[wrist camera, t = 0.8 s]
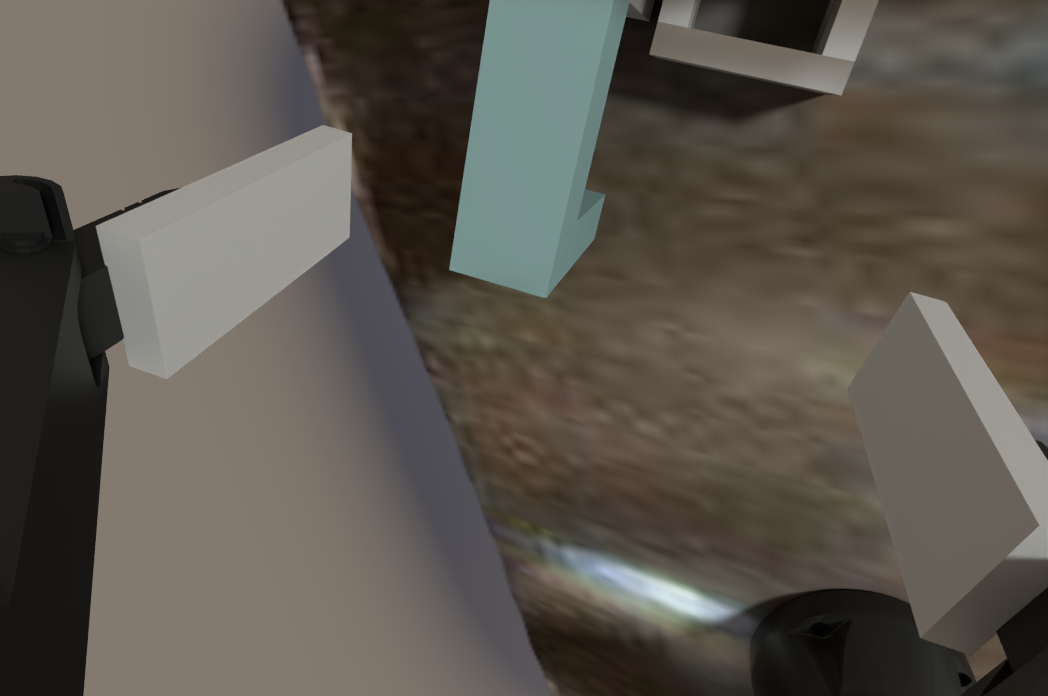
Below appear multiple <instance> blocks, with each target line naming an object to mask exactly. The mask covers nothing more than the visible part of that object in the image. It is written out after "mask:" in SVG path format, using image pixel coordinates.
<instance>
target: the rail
mask: <svg viewBox="0 0 1048 696" xmlns="http://www.w3.org/2000/svg"><path fill="white" fill-rule="evenodd" d="M654 2H655V0H490V2H489V9H488V16H487V22H486V29H485V35H484V42H483V49H482V55H481V62H480V69H479V75H478V82H477V89H476V95H475V102H474V108H473V115H472V122H471V128H470V135H469V142H468V148H467V155H466V162H465V168H464V175H463V181H462V188H461V195H460V201H459V208H458V215H457V221H456V228H455V235H454V241H453V248H452V254H451V261H450V268H449V270H451V271H455V272H458V273H461V274H465V275H468V276H472V277H475V278H478V279H482V280H485V281H489V282H492V283H495V284H499V285H502V286H506V287H509V288H512V289H516V290H519V291H523V292H526V293H529V294H533V295H536V296H540V297H543V298H546V297H547V296H548V295H549V294H550V292H551V291H552V290H553V289H554V288H555V286H556V285H557V284H558V283H559V281H560V280H561V279H562V278H563V277H564V275H565V274H566V273H567V272H568V270H569V269H570V268H571V267H572V266H573V264H574V263H575V262H576V261H577V259H578V258H579V257H580V256H581V255H582V253H583V252H584V251H585V250H586V249H587V247H588V246H589V245H590V244H591V242H592V241H593V240H594V238H595V234H596V230H597V226H598V222H599V218H600V214H601V210H602V206H603V203H604V199H605V195H606V194H602V193H598V192H594V191H590V190H586V189H585V186H586V182H587V178H588V174H589V170H590V165H591V161H592V157H593V153H594V149H595V144H596V140H597V136H598V132H599V128H600V124H601V119H602V115H603V111H604V107H605V103H606V98H607V94H608V90H609V86H610V82H611V77H612V73H613V69H614V65H615V61H616V56H617V52H618V48H619V44H620V40H621V35H622V31H623V27H624V23H625V19H626V17H629V18H634V19H639V20H644V21H650V18H651V14H652V10H653V6H654Z"/></svg>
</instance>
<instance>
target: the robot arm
mask: <svg viewBox="0 0 1048 696" xmlns="http://www.w3.org/2000/svg"><path fill="white" fill-rule="evenodd" d="M351 157H352V133H349V132H345V131H342V130H338V129H335V128H331V127H328V126H324V125H322V126H320V127H318V128H315V129H313V130H311V131H309V132H306V133H304V134H302V135H300V136H297V137H295V138H293V139H291V140H288V141H286V142H284V143H282V144H280V145H277V146H275V147H272V148H270V149H268V150H266V151H263V152H261V153H259V154H257V155H255V156H252V157H250V158H248V159H246V160H243V161H241V162H239V163H236V164H234V165H232V166H230V167H228V168H225V169H223V170H221V171H218V172H216V173H214V174H212V175H209V176H207V177H205V178H203V179H200V180H198V181H196V182H194V183H191V184H189V185H187V186H185V187H183V188H177V189H172V190H167V191H163V192H161V193H158V194H156V195H153V196H151V197H149V198H147V199H144V200H142V203H138V202H137V203H135V204H133V205H130V206H128V207H126V208H125V210H124V211H123V210H119V211H116V212H114V213H112V214H110V215H107V216H105V217H103V218H100V219H98V220H96V221H94V222H91V223H89V224H87V225H84V226H82V227H80V228H77V229H75V230H73V227H72V224H71V220H70V216H69V212H68V209H67V204H66V201H65V197H64V193H63V190H62V187H61V186H60V185H58V184H56V183H55V182H53V181H51V180H47V179H43V178H38V177H32V176H18V175H15V176H0V696H83V693H84V679H85V667H86V655H87V654H86V653H87V642H88V630H89V617H90V603H91V592H92V579H93V567H94V554H95V541H96V528H97V516H98V504H99V490H100V478H101V465H102V452H103V440H104V428H105V415H106V402H107V389H108V377H109V365H108V360H107V357H106V353H105V351H106V350H107V349H108V348H110V347H112V346H113V345H115V344H116V343H118V342H119V341H121V340H122V339H123V342H124V347H125V351H126V355H127V359H128V364H129V367H133V368H135V369H138V370H141V371H144V372H147V373H150V374H153V375H156V376H159V377H161V378H164V379H168V378H169V377H171V376H172V375H173V374H175V373H176V372H177V371H178V370H180V369H181V368H182V367H184V366H185V365H186V364H187V363H189V362H190V361H191V360H192V359H194V358H195V357H196V356H198V355H199V354H200V353H202V352H203V351H204V350H205V349H207V348H208V347H209V346H210V345H212V344H213V343H214V342H216V341H217V340H218V339H220V338H221V337H222V336H223V335H225V334H226V333H227V332H229V331H230V330H231V329H232V328H234V327H235V326H236V325H238V324H239V323H240V322H241V321H243V320H244V319H245V318H247V317H248V316H249V315H250V314H252V313H253V312H254V311H255V310H257V309H258V308H259V307H261V306H262V305H263V304H264V303H266V302H267V301H268V300H270V299H271V298H272V297H274V296H275V295H276V294H277V293H279V292H280V291H281V290H282V289H284V288H285V287H286V286H287V285H289V284H290V283H291V282H292V281H294V280H295V279H297V278H298V277H299V276H300V275H302V274H303V273H304V272H305V271H307V270H308V269H309V268H311V267H312V266H313V265H315V264H316V263H317V262H318V261H320V260H321V259H322V258H323V257H325V256H326V255H327V254H329V253H330V252H331V251H332V250H334V249H335V248H336V247H338V246H339V245H340V244H342V243H343V242H344V241H345V240H347V239H348V238H349V237H350V200H351ZM848 392H849V395H850V399H851V402H852V406H853V409H854V413H855V416H856V419H857V423H858V426H859V430H860V433H861V437H862V440H863V443H864V447H865V450H866V454H867V457H868V461H869V464H870V468H871V471H872V474H873V478H874V481H875V485H876V488H877V492H878V495H879V499H880V502H881V505H882V509H883V512H884V516H885V519H886V523H887V526H888V529H889V533H890V536H891V540H892V543H893V547H894V550H895V554H896V557H897V560H898V564H899V567H900V571H901V574H902V578H903V581H904V585H905V588H906V591H907V595H908V598H909V602H910V604H909V603H907V602H904V601H901V600H899V599H896V598H893V597H889V596H885V595H882V594H877V593H871V592H864V591H852V590H837V591H826V592H819V593H814V594H809V595H806V596H802V597H799V598H797V599H794V600H792V601H790V602H787V603H785V604H784V605H782V606H780V607H779V608H777V609H775V610H774V611H773V612H772V613H770V614H769V615H768V616H767V617H766V618H765V619H764V620H763V621H762V622H761V624H760V625H759V626H758V628H757V630H756V631H755V634H754V636H753V638H752V641H751V646H750V671H751V682H752V687H753V691H754V694H755V696H1048V448H1047V447H1046V446H1045V445H1044V444H1043V443H1042V442H1040V441H1036V440H1034V438H1033V437H1032V435H1031V434H1030V432H1029V431H1028V429H1027V427H1026V426H1025V424H1024V423H1023V421H1022V420H1021V418H1020V417H1019V415H1018V413H1017V412H1016V410H1015V409H1014V407H1013V406H1012V404H1011V402H1010V401H1009V399H1008V398H1007V396H1006V395H1005V393H1004V392H1003V390H1002V388H1001V387H1000V385H999V384H998V382H997V381H996V379H995V378H994V376H993V374H992V373H991V371H990V370H989V368H988V367H987V365H986V364H985V362H984V360H983V359H982V357H981V356H980V354H979V353H978V351H977V349H976V348H975V346H974V345H973V343H972V342H971V340H970V339H969V337H968V335H967V334H966V332H965V331H964V329H963V328H962V326H961V325H960V323H959V321H958V320H957V318H956V317H955V315H954V314H953V312H952V310H951V309H950V307H949V306H948V304H947V303H946V302H944V301H941V300H937V299H934V298H930V297H926V296H923V295H919V294H916V293H912V292H909V294H908V295H907V297H906V299H905V300H904V302H903V303H902V305H901V306H900V308H899V309H898V311H897V313H896V314H895V316H894V317H893V319H892V320H891V322H890V323H889V325H888V326H887V328H886V330H885V331H884V333H883V334H882V336H881V337H880V339H879V340H878V342H877V344H876V345H875V347H874V348H873V350H872V351H871V353H870V354H869V356H868V358H867V359H866V361H865V362H864V364H863V365H862V367H861V368H860V370H859V372H858V373H857V375H856V376H855V378H854V379H853V381H852V382H851V384H850V385H849V387H848ZM996 634H998V637H999V639H1000V642H1001V644H1002V646H1003V649H1004V651H1005V654H1006V656H1007V659H1006V660H1004V661H1003V662H1002V663H1000V664H999V665H998V666H997V667H995V668H994V669H993V670H992V671H990V672H989V673H988V674H987V675H985V676H984V677H983V678H982V679H980V680H979V681H978V682H976V680H975V677H974V674H973V672H972V670H971V667H970V665H969V663H968V660H967V658H966V656H965V654H968V655H972V654H973V653H975V652H976V651H977V650H978V649H979V648H981V647H982V646H983V645H984V644H985V643H986V642H988V641H989V640H990V639H991V638H992V637H994V636H995V635H996Z"/></svg>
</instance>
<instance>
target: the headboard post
mask: <svg viewBox="0 0 1048 696" xmlns="http://www.w3.org/2000/svg"><path fill="white" fill-rule="evenodd" d="M878 1H879V0H830V1H829V4H828V7H827V10H826V12H825V15H824V18H823V21H822V23H821V26H820V29H819V32H818V34H817V37H816V40H815V43H814V45H813V48H812V51H811V53H809V52H805V51H800V50H795V49H790V48H785V47H780V46H775V45H770V44H765V43H761V42H756V41H751V40H746V39H741V38H736V37H731V36H726V35H721V34H716V33H712V32H707V31H702V30H697V29H693V27H694V24H695V20H696V17H697V13H698V10H699V6H700V3H701V0H663V3H662V7H661V11H660V15H659V19H658V23H657V26H656V30H655V34H654V38H653V42H652V46H651V50H650V53H649V54H650V55H652V56H654V57H656V58H658V59H663V60H667V61H672V62H676V63H681V64H686V65H690V66H695V67H700V68H704V69H709V70H714V71H718V72H723V73H728V74H732V75H737V76H742V77H746V78H751V79H756V80H760V81H765V82H769V83H774V84H779V85H783V86H788V87H793V88H797V89H802V90H807V91H811V92H816V93H821V94H825V95H842V93H843V90H844V88H845V85H846V82H847V80H848V77H849V75H850V72H851V70H852V67H853V65H854V62H855V60H856V57H857V55H858V52H859V50H860V47H861V44H862V42H863V39H864V37H865V34H866V32H867V29H868V27H869V24H870V22H871V19H872V17H873V14H874V11H875V9H876V6H877V4H878Z"/></svg>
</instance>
